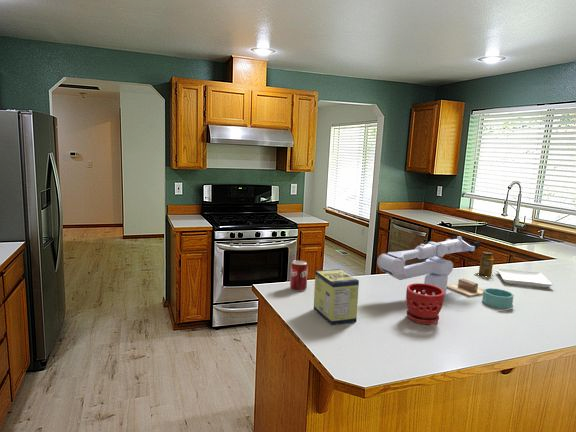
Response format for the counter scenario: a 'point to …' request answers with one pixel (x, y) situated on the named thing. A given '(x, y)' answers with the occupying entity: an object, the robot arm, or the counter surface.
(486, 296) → the teal bowl
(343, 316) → the protein box
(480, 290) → the oak lid
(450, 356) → the counter surface
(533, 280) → the salad plate
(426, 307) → the plant pot
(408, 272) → the robot arm
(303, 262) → the soda can
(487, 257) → the condiment
